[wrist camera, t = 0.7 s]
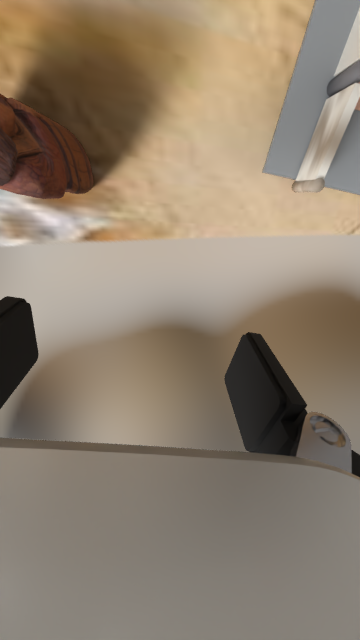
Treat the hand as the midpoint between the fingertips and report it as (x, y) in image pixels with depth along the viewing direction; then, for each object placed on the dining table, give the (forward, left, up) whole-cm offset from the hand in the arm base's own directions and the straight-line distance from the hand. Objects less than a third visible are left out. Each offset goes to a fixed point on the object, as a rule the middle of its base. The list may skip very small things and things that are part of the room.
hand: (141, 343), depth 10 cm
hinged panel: (-14, +18, -25) cm, 34 cm away
